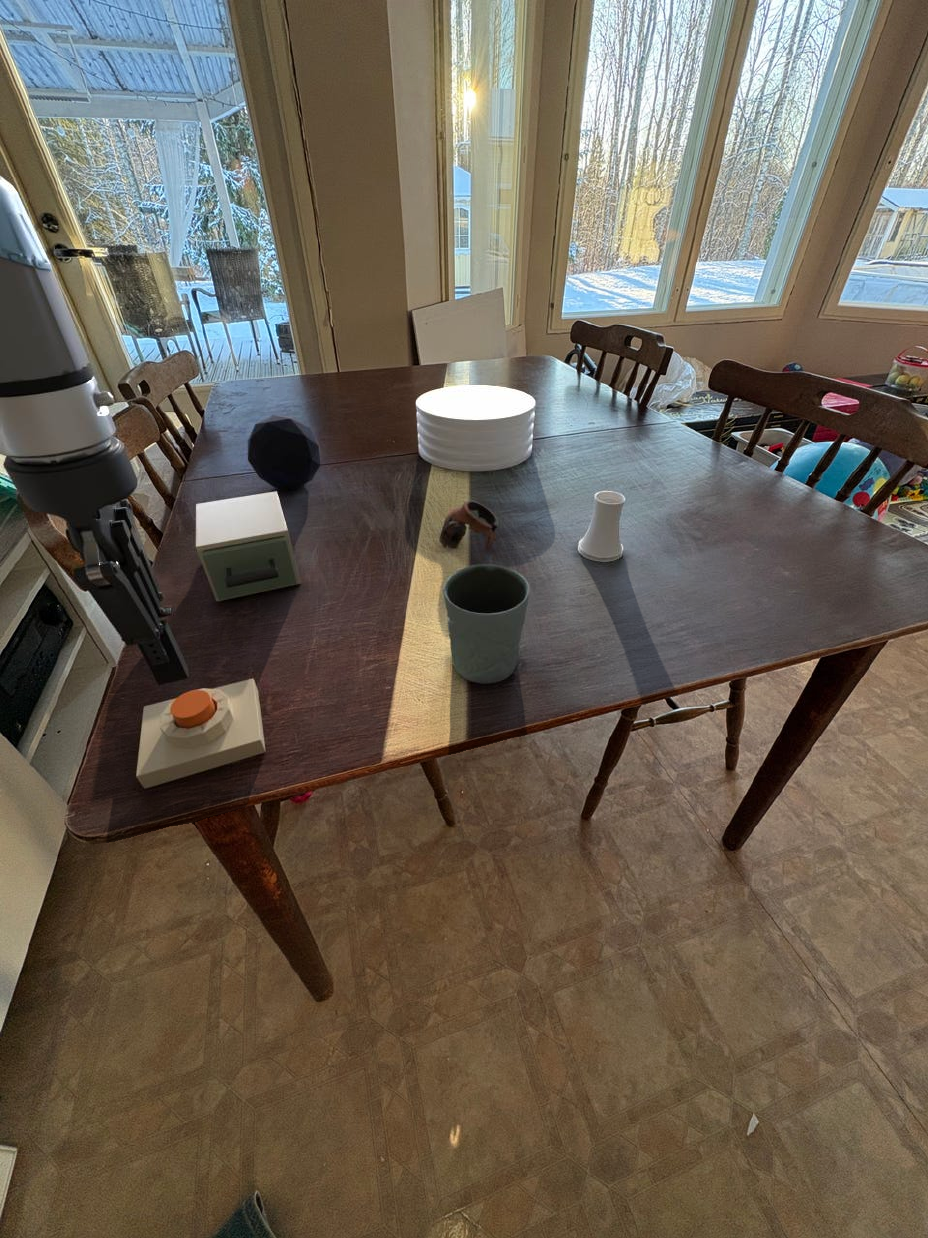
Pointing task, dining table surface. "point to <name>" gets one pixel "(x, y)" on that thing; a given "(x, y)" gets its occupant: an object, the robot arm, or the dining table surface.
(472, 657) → the green cup
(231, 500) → the white drawer cabinet
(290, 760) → the dining table surface
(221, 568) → the green drawer
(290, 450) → the decorative orb
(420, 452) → the plate stack
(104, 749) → the dining table surface
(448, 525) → the brown curved piece
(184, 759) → the control block
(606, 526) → the vase
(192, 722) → the button
